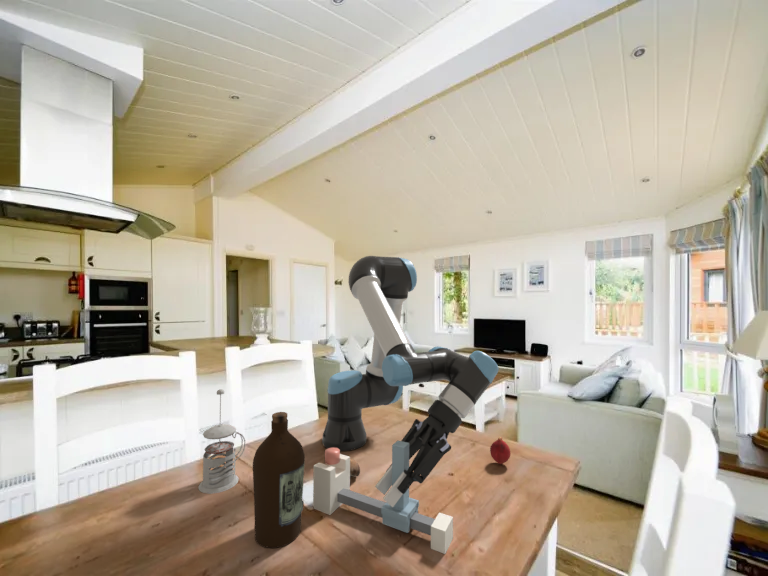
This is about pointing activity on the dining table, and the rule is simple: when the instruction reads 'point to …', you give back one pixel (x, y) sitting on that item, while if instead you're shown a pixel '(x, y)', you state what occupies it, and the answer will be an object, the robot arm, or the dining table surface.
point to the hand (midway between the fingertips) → (383, 496)
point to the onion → (500, 451)
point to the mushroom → (354, 468)
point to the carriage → (405, 505)
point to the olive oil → (278, 485)
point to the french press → (219, 476)
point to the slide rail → (370, 502)
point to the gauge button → (332, 456)
